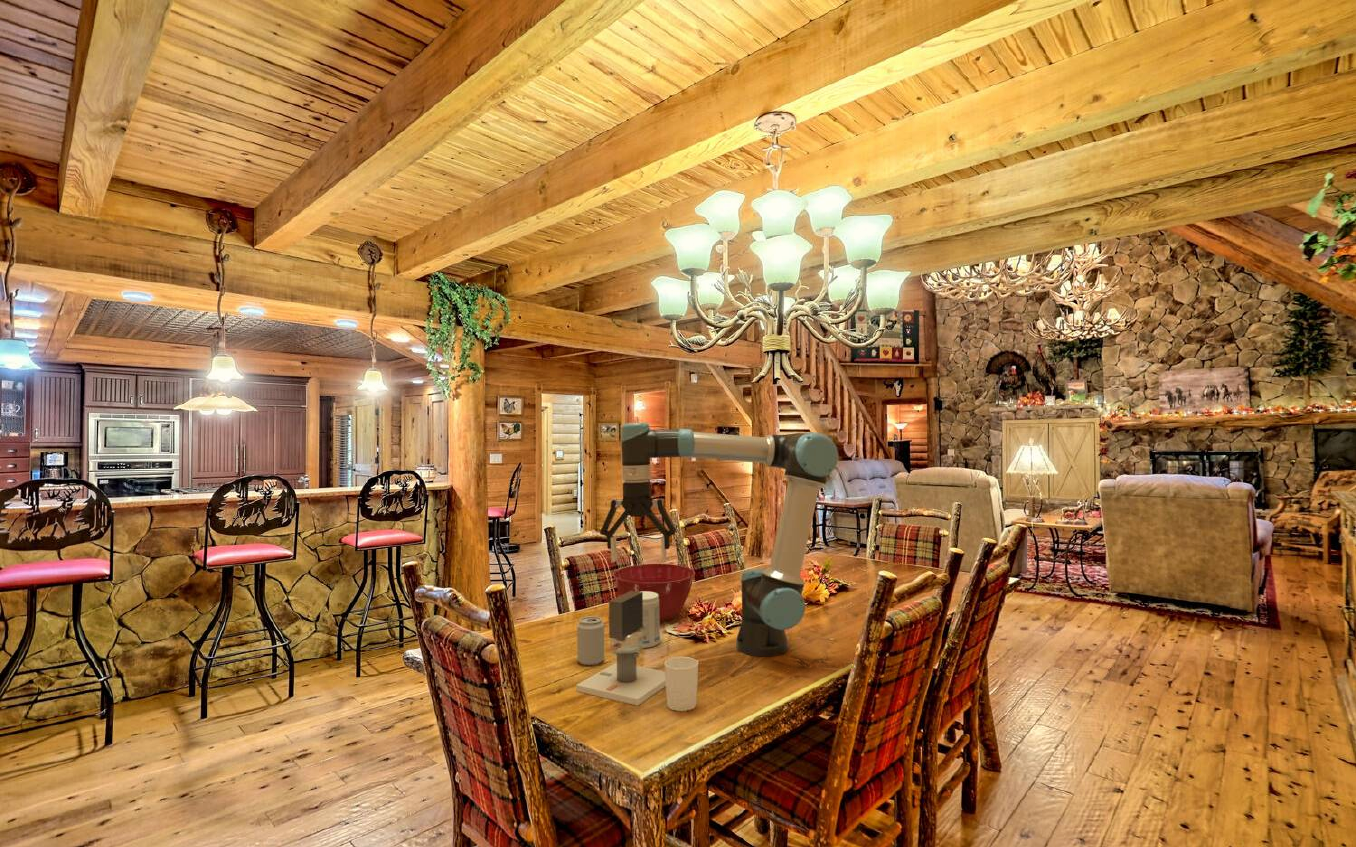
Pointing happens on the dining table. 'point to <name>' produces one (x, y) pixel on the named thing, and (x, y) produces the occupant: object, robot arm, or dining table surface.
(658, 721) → the dining table surface
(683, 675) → the white cup
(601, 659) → the can
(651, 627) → the supplement tub
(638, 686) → the post base
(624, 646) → the coupling
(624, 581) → the mixing bowl
